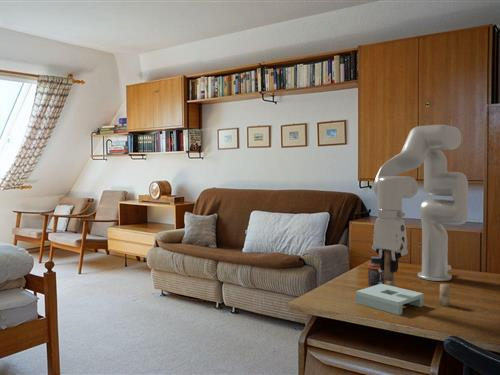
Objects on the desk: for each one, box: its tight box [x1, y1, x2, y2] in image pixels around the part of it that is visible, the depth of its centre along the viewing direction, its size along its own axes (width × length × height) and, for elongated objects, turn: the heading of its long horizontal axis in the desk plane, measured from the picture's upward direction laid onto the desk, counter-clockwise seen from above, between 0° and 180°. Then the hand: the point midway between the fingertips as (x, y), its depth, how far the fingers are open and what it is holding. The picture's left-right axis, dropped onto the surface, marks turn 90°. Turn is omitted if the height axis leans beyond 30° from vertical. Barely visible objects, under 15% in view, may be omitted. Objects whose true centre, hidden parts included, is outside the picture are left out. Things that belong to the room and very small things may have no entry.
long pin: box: [384, 249, 395, 282], centre depth 146 cm, size 3×3×10 cm
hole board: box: [355, 283, 424, 316], centre depth 147 cm, size 14×16×4 cm
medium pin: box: [439, 283, 451, 307], centre depth 146 cm, size 3×3×6 cm
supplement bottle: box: [367, 255, 386, 287], centre depth 167 cm, size 6×6×11 cm
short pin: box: [386, 276, 396, 287], centre depth 161 cm, size 3×3×5 cm
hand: (389, 270), depth 146 cm, fingers closed on long pin, 3 cm apart
